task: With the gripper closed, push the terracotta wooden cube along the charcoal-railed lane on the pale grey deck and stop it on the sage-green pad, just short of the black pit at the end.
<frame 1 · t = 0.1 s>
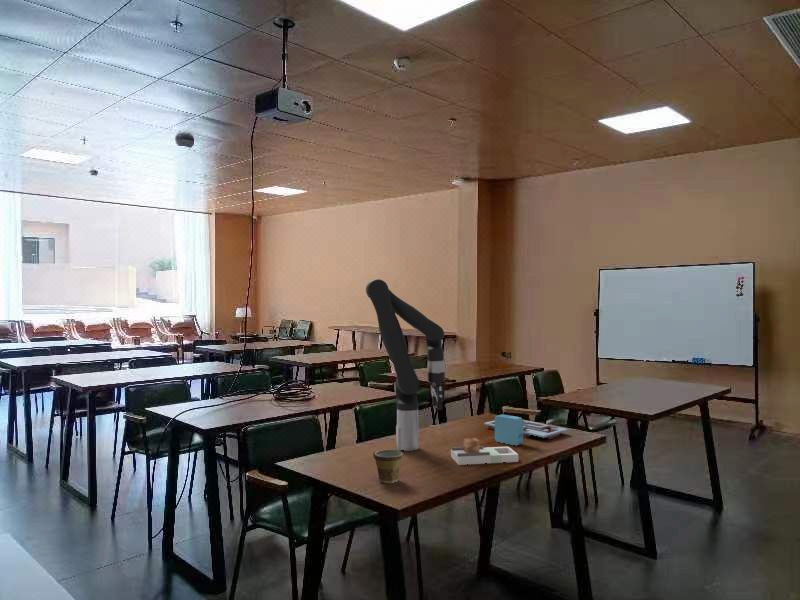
hand: (437, 407, 254), 17 cm above the table, tool pointing down, fingers open, 8 cm apart
maze game: (525, 432, 282), on the table
terracotta cube: (471, 452, 235), point 3 cm above the table, touching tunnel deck
blue square slab: (508, 443, 261), on the table
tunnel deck: (483, 459, 236), on the table
ceramic cup: (385, 480, 210), on the table
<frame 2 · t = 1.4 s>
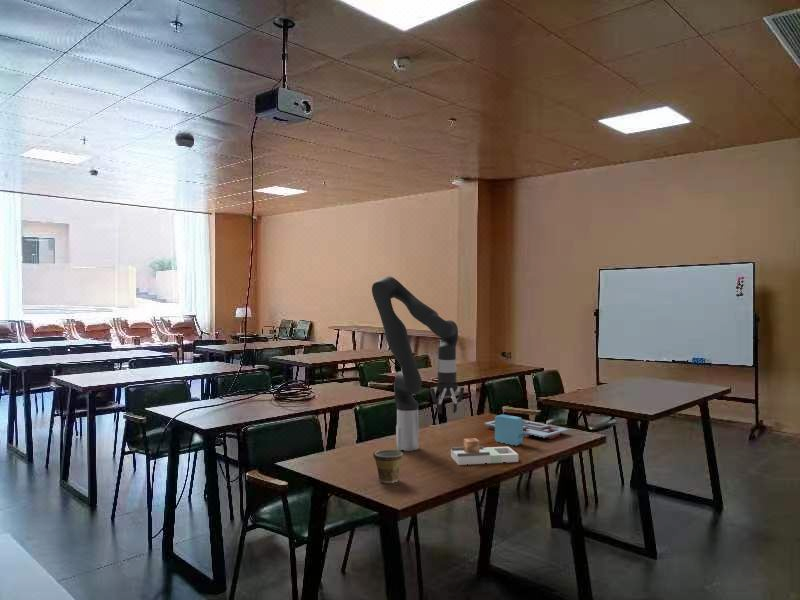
hand: (447, 412, 233), 19 cm above the table, tool pointing down, fingers open, 5 cm apart
nothing on the table moved.
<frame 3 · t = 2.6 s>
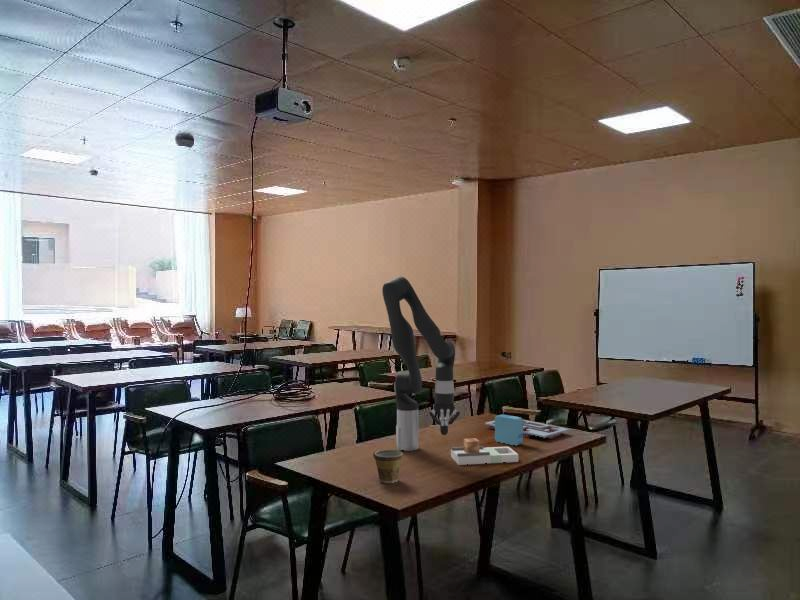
hand: (444, 434, 232), 11 cm above the table, tool pointing down, fingers closed
nothing on the table moved.
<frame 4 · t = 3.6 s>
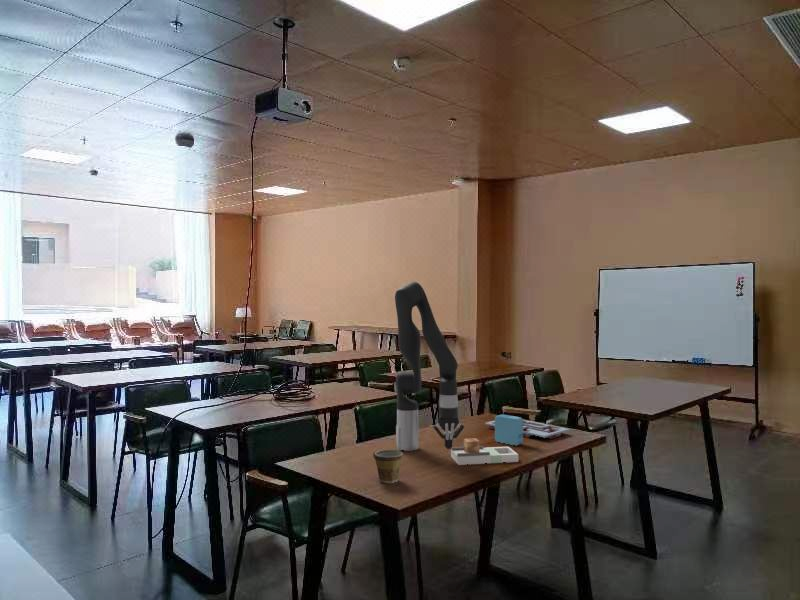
hand: (448, 448, 233), 5 cm above the table, tool pointing down, fingers closed
nothing on the table moved.
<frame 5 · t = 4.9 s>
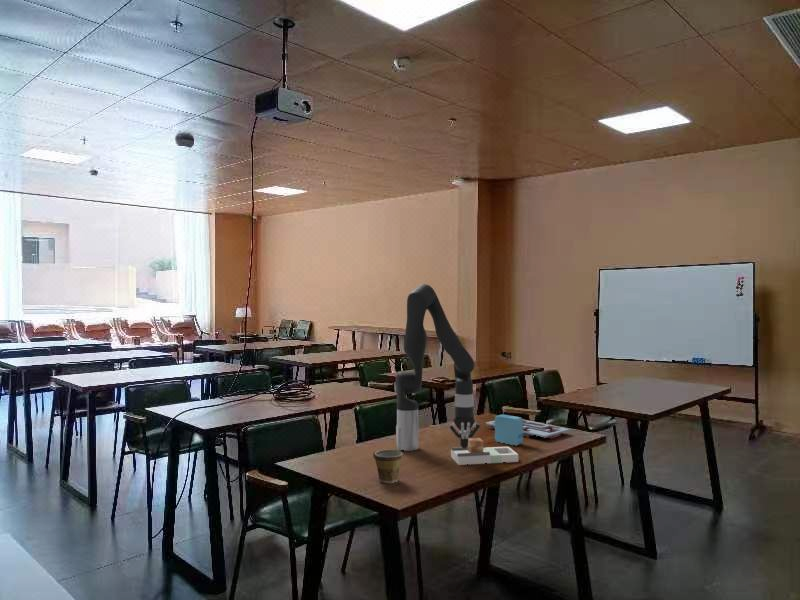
hand: (464, 447, 234), 5 cm above the table, tool pointing down, fingers closed
terracotta cube: (475, 452, 235), point 3 cm above the table, touching gripper
everything else where it was.
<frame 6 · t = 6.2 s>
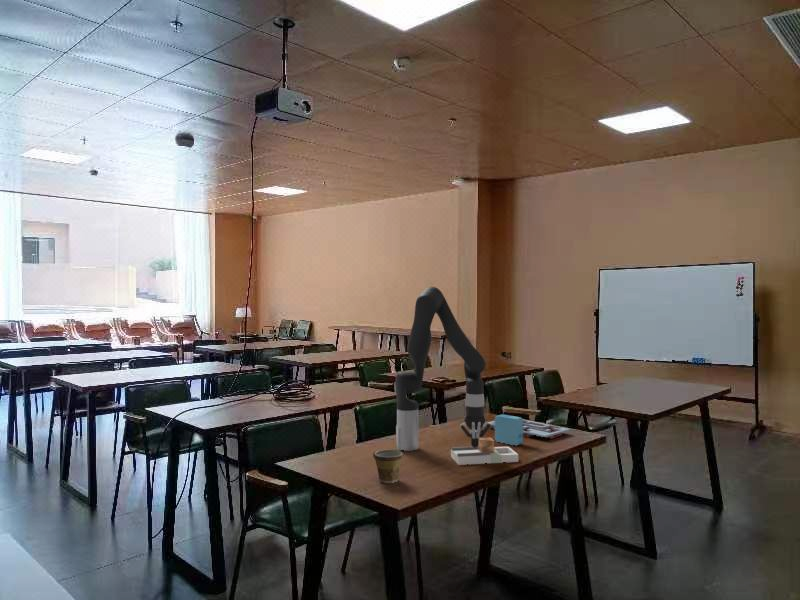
hand: (474, 447, 235), 5 cm above the table, tool pointing down, fingers closed
terracotta cube: (486, 451, 236), point 3 cm above the table, touching gripper, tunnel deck
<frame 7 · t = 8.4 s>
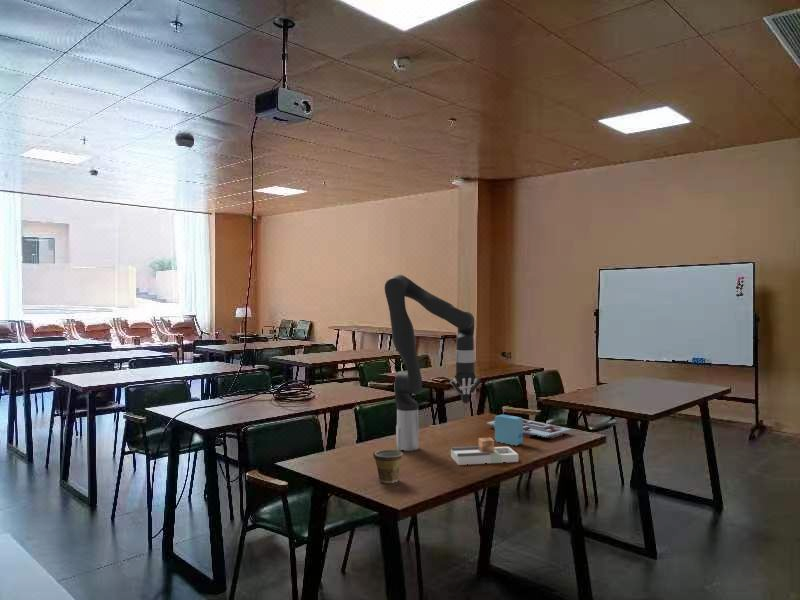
hand: (465, 403, 238), 22 cm above the table, tool pointing down, fingers closed
terracotta cube: (486, 451, 236), point 3 cm above the table, touching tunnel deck
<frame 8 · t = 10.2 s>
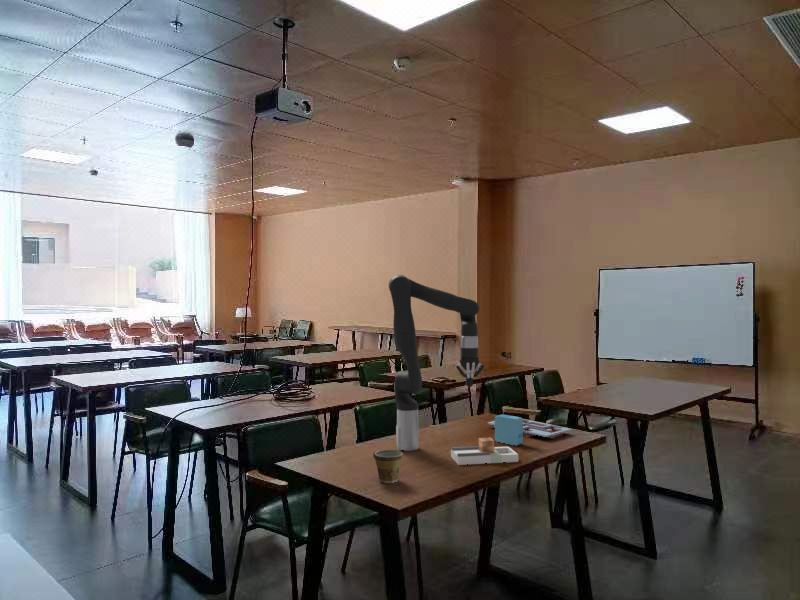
hand: (469, 386, 250), 27 cm above the table, tool pointing down, fingers closed
at the end: terracotta cube 1.7 cm from the target spot on the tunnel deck, point 3.0 cm above the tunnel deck's base; terracotta cube tilted 0°; terracotta cube moved 6.2 cm from its start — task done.
